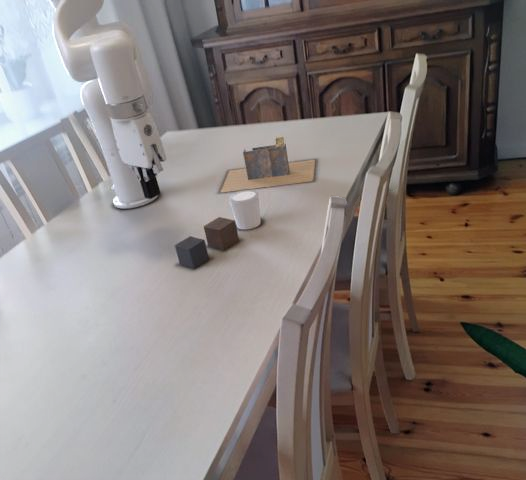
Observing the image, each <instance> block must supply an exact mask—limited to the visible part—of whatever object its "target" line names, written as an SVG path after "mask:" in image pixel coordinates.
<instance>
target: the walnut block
mask: <svg viewBox="0 0 526 480" xmlns="http://www.w3.org/2000/svg"><path fill="white" fill-rule="evenodd" d="M203 230H204V235H205V239H206V242H207V246H208V247H209V248H212V249H216V250H219V251H223V252H224V251H226V250H228V249H229V248H231V247H233V246H234V245H235V244H237V243H239V242H240V238H239V233H238V227H237V224H236V221H235V219H230V218H225V217H221V216H218V217H217V218H215V219H213V220H212V221H210V222H208V223H207V224H205V225H203Z"/></svg>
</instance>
